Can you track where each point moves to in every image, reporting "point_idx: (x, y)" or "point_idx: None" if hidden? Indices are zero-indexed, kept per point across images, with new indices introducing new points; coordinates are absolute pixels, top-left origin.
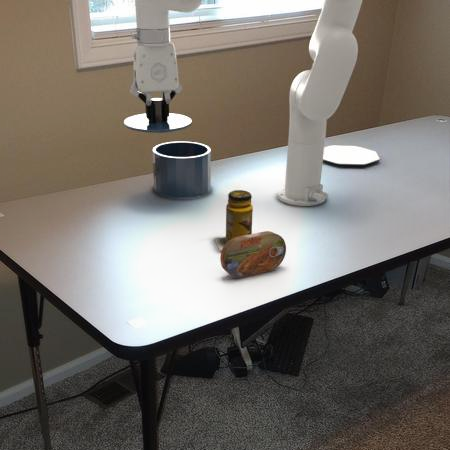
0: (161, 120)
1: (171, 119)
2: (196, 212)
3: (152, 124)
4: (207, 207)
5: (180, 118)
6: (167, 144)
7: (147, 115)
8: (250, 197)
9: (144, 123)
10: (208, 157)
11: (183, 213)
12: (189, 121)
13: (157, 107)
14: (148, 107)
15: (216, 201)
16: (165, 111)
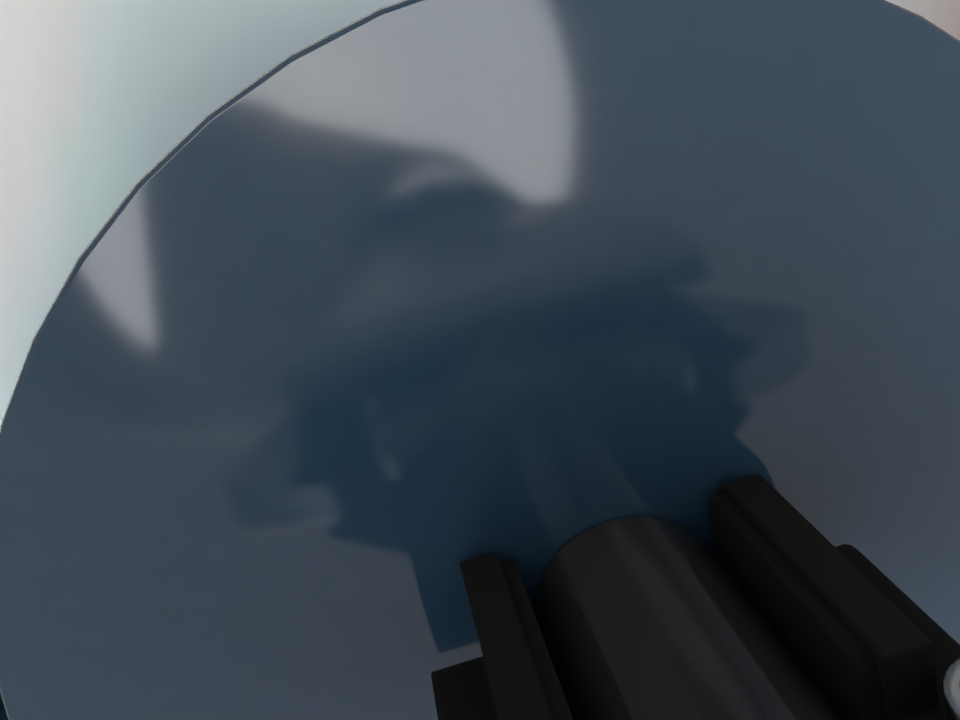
0: (578, 550)
1: (383, 694)
2: (179, 35)
3: (749, 383)
4: (85, 145)
5: None
6: None
7: (869, 576)
8: None
9: (870, 454)
10: None
11: (289, 22)
12: (26, 562)
13: (741, 674)
14: (941, 662)
15: (10, 277)
16: (530, 656)
